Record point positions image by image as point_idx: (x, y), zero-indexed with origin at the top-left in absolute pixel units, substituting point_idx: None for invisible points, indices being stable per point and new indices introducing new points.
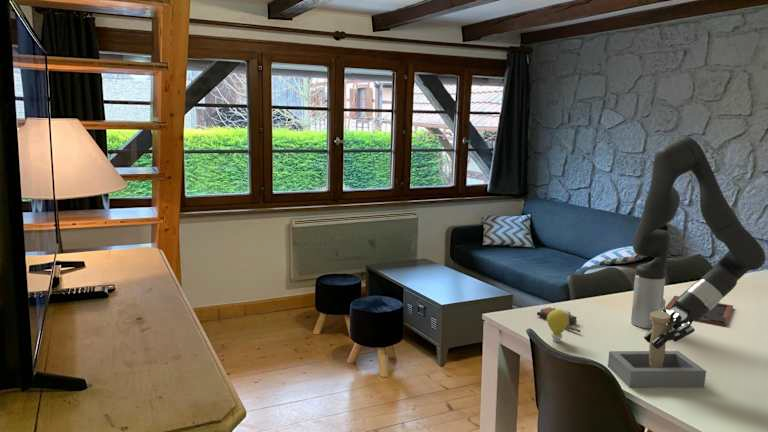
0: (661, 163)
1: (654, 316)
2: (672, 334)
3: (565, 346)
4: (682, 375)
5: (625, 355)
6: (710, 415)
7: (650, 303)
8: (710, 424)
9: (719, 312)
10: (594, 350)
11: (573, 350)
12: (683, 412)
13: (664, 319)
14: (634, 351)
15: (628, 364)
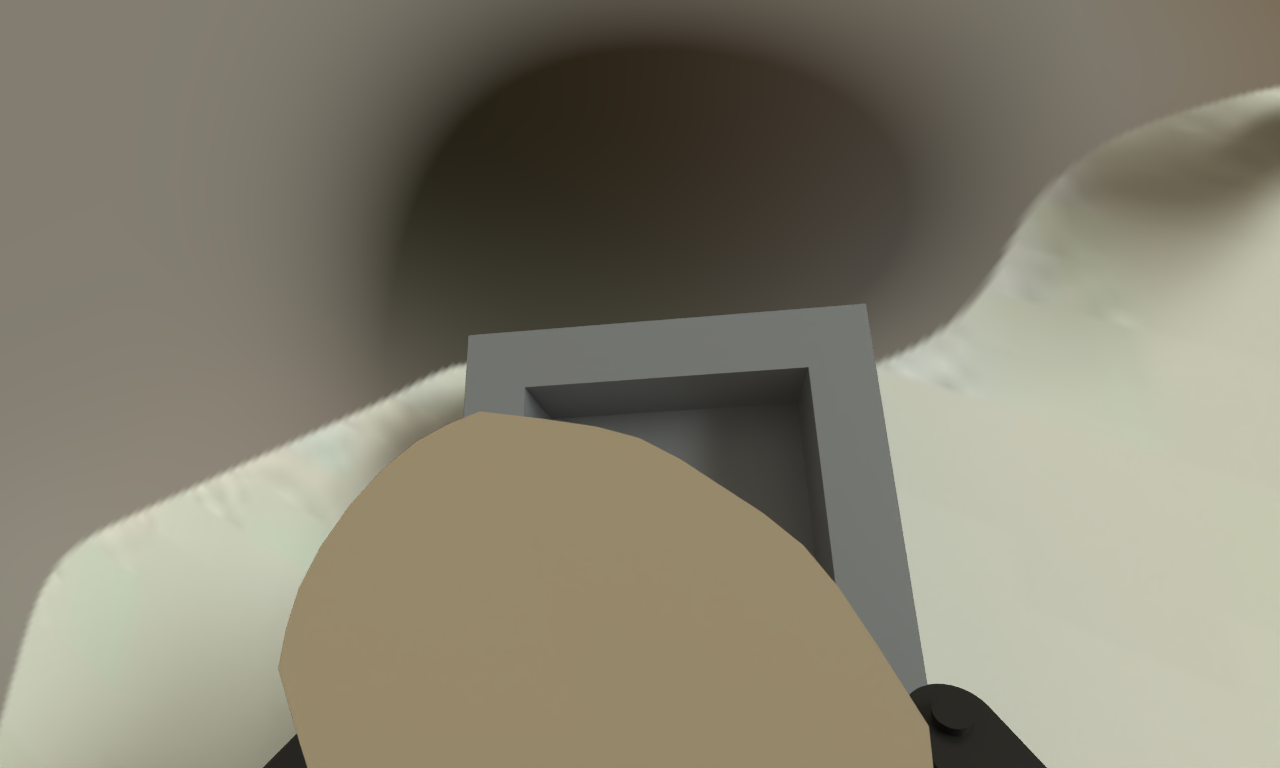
0: None
1: (465, 468)
2: (294, 745)
3: (1198, 167)
4: None
5: (813, 426)
6: (105, 741)
7: None
8: (26, 667)
9: None
10: (1172, 357)
11: (1123, 204)
12: (177, 574)
13: (292, 645)
14: (892, 534)
15: (590, 363)
